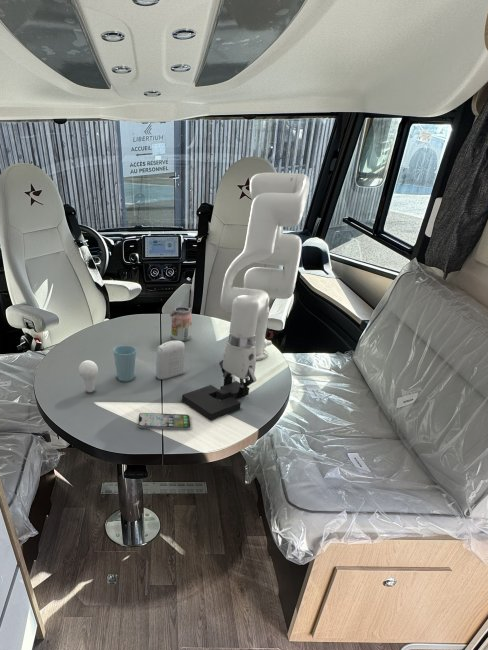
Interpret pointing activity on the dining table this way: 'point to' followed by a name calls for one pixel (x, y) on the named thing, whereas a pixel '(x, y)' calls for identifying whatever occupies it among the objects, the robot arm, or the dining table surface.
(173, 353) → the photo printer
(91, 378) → the lightbulb
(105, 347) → the dining table surface
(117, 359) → the cup
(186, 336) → the beverage can
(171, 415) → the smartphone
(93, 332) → the dining table surface
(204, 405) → the base pad
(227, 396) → the tab pad
